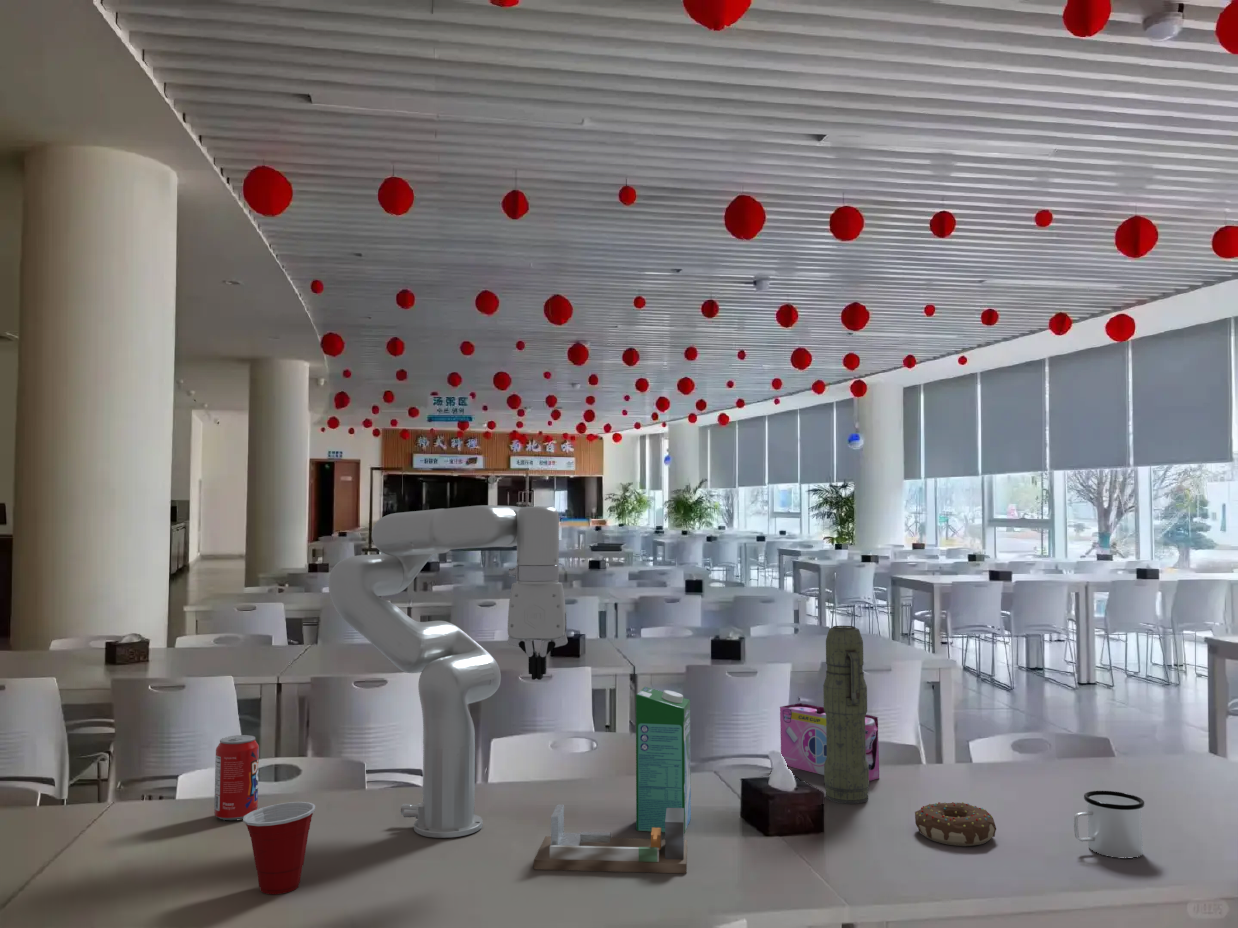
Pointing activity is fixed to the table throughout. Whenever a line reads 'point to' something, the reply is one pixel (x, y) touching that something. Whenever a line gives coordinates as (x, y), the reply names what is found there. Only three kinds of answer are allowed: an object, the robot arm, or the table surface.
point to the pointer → (656, 838)
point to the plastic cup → (279, 844)
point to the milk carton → (662, 757)
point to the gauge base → (621, 852)
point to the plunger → (572, 838)
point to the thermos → (845, 717)
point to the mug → (1113, 823)
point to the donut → (955, 823)
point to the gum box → (818, 739)
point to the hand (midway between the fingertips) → (537, 678)
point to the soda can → (236, 777)
